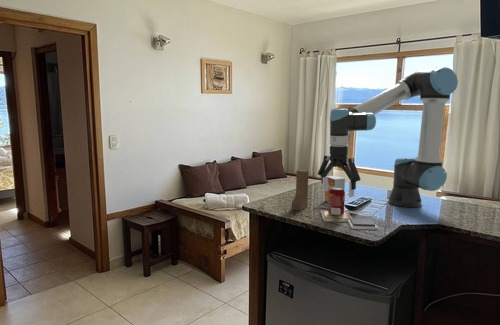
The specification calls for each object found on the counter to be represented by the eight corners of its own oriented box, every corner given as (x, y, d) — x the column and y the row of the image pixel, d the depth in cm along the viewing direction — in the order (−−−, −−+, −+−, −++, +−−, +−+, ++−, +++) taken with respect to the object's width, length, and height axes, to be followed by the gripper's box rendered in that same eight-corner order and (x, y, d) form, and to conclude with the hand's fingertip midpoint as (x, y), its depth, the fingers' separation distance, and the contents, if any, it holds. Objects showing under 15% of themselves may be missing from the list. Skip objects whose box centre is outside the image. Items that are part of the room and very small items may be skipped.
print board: (347, 213, 162) (347, 210, 161) (352, 222, 150) (352, 218, 150) (320, 212, 163) (320, 209, 162) (323, 221, 151) (323, 218, 150)
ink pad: (372, 222, 149) (372, 218, 148) (377, 229, 141) (377, 225, 141) (347, 222, 149) (348, 218, 149) (351, 228, 142) (352, 224, 141)
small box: (324, 201, 182) (325, 176, 180) (334, 199, 185) (335, 175, 183) (333, 205, 175) (334, 179, 173) (344, 203, 178) (345, 178, 175)
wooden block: (300, 211, 165) (301, 173, 162) (291, 209, 167) (292, 172, 164) (307, 206, 172) (308, 170, 169) (299, 205, 175) (300, 169, 172)
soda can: (341, 217, 151) (342, 190, 149) (325, 215, 155) (326, 188, 153) (345, 213, 157) (347, 187, 155) (331, 211, 161) (332, 185, 159)
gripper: (310, 144, 158) (309, 190, 162) (359, 148, 139) (358, 201, 143) (320, 142, 163) (320, 187, 166) (370, 146, 144) (368, 197, 148)
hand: (337, 194), depth 155 cm, fingers open, 13 cm apart
